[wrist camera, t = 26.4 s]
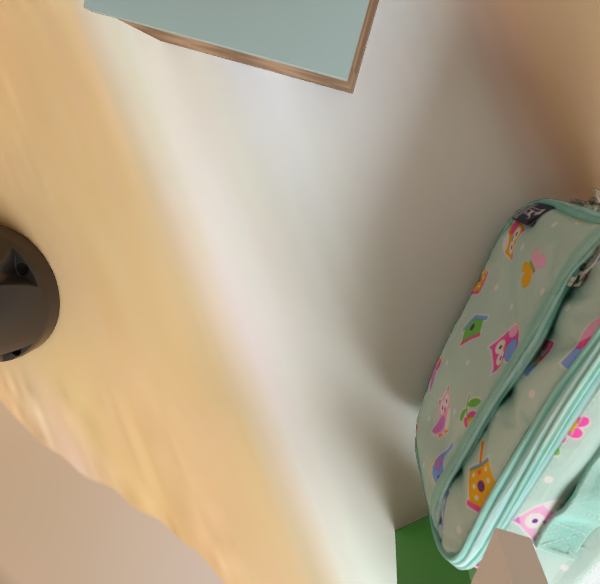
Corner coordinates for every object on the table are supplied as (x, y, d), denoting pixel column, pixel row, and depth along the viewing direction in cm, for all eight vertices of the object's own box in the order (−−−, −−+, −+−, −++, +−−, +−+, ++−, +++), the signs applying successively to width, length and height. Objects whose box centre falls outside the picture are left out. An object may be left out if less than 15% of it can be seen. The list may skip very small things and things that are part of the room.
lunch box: (518, 169, 42) (649, 186, 21) (634, 209, 41) (881, 265, 21) (401, 420, 50) (415, 604, 30) (496, 457, 50) (577, 669, 29)
